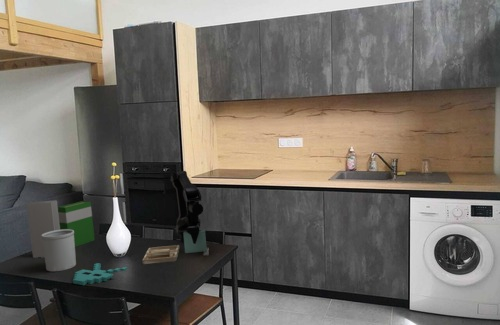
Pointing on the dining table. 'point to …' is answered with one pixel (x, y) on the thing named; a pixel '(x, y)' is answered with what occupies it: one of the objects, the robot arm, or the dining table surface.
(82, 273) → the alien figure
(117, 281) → the dining table surface
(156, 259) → the rack
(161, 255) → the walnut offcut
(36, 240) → the grey upright box
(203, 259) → the dining table surface
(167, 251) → the pine offcut
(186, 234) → the teal square block
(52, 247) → the utensil holder
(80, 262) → the dining table surface
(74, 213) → the hardback book
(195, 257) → the dining table surface
